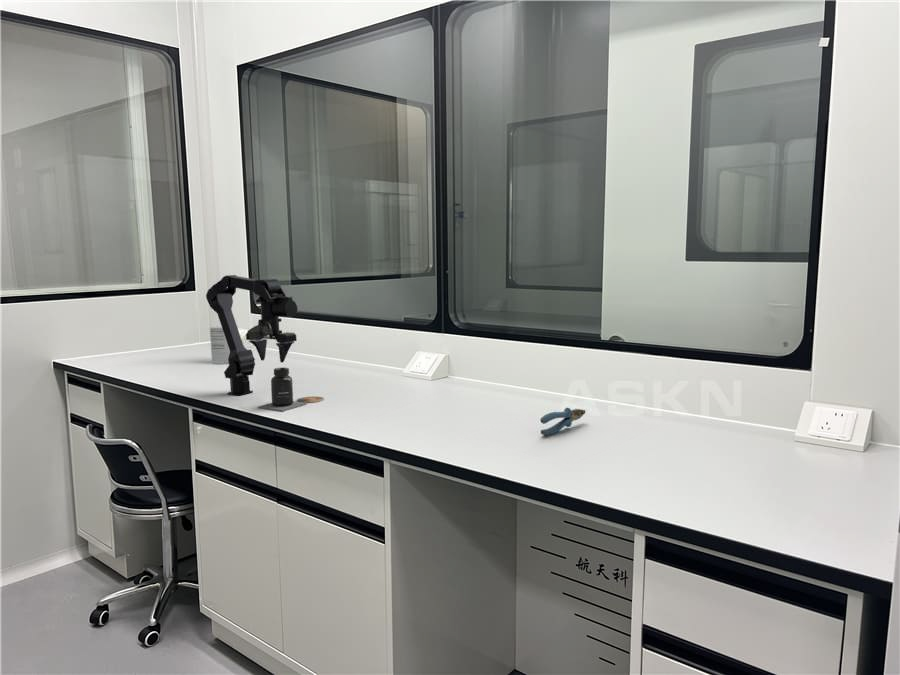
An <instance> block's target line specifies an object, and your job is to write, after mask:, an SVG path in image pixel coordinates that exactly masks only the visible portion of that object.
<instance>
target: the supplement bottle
mask: <svg viewBox="0 0 900 675" xmlns="http://www.w3.org/2000/svg"><path fill="white" fill-rule="evenodd" d="M273 375H274V376H273V377H271V379H270V390H271V395H270V396H271V403H272V405H273V406H279V407H282V406H289V405H292V404H293V401H294V392H293V389H294V388H293V378H292V377H291V376H290V369H289V368H288V367H276V368H273Z"/></svg>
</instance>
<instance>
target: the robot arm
mask: <svg viewBox="0 0 900 675" xmlns="http://www.w3.org/2000/svg"><path fill="white" fill-rule="evenodd" d="M237 289H240V290H246V291H251V292H253V294H255V295H256V296H258V298H257V299H256V300H255V303H257V304H258V303H259V304H260V317H261V318H260V319H258V321H257V325H255V326H253V327H251V328H250V329H248V330H247V332H246V334H245V338H246V341H248V343H251V344H252V345H253V346H254V347H255V349H256V351H257V353H258V355H259V358H260V361H264V360H265V358H266V352H267V344H268V340H276V343H275V345H276V346H277V347H278V352H279V362H280V363H284V362H285V359H286V358H287V355H288V353H289V351H290V348H291V347H292V345H293V344H295V342H297V334H296V333H295V332H289V331H287V332H283V331H282V330H280V323H281V322H282V318H293V317H295V316H296V315H297V313H298V306H297V303H296V302H295V301H294V300H293V297H292V296H287V295H286V293H285V291H284V289H283V288H282V285H281V284H280V282H279V280H278V279H276V278H268V279H256V278H255V279H254V278H249V277H245V276H238V275H235V274H231V275H230V274H228V275H224V276H223V277H222V278H221V279H220V280H219V281H218V282H216V283H214V284H213V285H212V286H211V287H210V288H208V289H207V291H206V294H205V297H206V300H207V303H208V304H209V307H210V308H211V309H212V310H213V311H214V312H215V313H216V314H217V316H218V319H219V323H220V325H221V326H222V329H223V332H224V335H225V338H226V341H227V344H228V347H229V350H230V354H229V358H228V361H229V364H228V366H227V367H226V369H225V370H224V372H223V374H224V377H225V379H229V385H230V391H228V392H227V395H233V396H243V395H244V396H245V395H248V394H251V393H254V391H253V390H251V386H250V385H251V384H250V379H249V376H253V374H254V370H255V366H256V363H255V362H256V359H255V357H254V354H253V351H252V349H247V348H246V347H245V346H244V343H243V341H242V340H243V339H242V337H241V334H240V331H239V329H238V328H239V327H238V328H237V326H238V325H237V322H236V318H235V317H234V313H233V311H232V309H233V308H232V307H233V304H234V299H233V297H234V295H235V294H236V293H237ZM279 317H281V318H279Z"/></svg>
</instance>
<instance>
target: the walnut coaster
mask: <svg viewBox="0 0 900 675" xmlns="http://www.w3.org/2000/svg"><path fill="white" fill-rule="evenodd" d="M324 399H325V398H324V397H322V396H316V395H315V396H304V397H303V396H302V397H299V398H298V399H296V402H303V403H307V404H315V403H320V402H322V401H324Z"/></svg>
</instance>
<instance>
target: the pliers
mask: <svg viewBox="0 0 900 675" xmlns="http://www.w3.org/2000/svg"><path fill="white" fill-rule="evenodd" d="M585 414H586V409H580V408H574V409H571V408H570V407H566V408H564V410H563V411H553V412H549V413H546V414H544V415H542V416H541V418H540V423H541V424H547V423H549V422H550V421H553V420H556V419H562V420H560V421H558V422H557V423H556V424H554V425H552V426H550V427H548V428H545V429H541V430H540V434H541V435H542V436H550V435H551V436H552V435H554V434H556V433H557V432H559V431H561V430H562V429H563V428H565V427H567V428H570V427H571V426H572V424H573V422H574V421H577V420H580V419H581V418H582V417H583V416H584V415H585Z"/></svg>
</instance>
